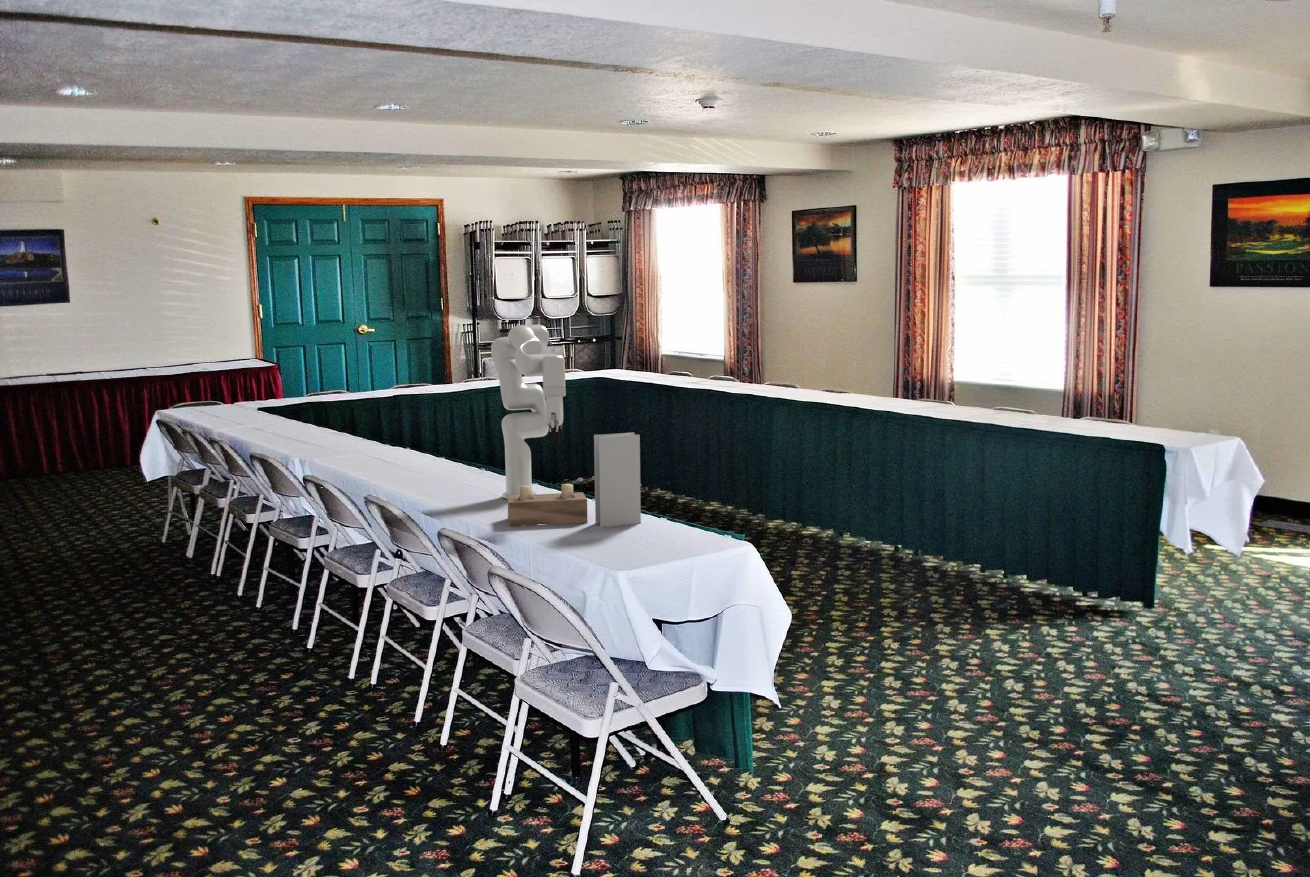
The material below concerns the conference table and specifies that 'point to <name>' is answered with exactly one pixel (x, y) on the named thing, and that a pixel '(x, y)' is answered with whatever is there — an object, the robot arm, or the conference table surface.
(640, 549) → the conference table surface
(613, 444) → the brochure
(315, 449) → the conference table surface
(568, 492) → the peg
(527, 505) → the walnut block
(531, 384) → the robot arm
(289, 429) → the conference table surface
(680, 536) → the conference table surface
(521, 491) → the peg
